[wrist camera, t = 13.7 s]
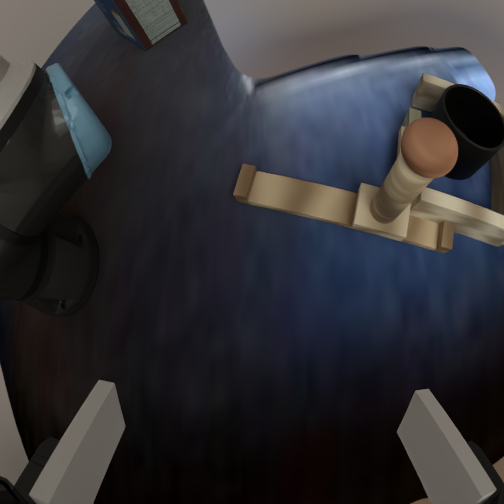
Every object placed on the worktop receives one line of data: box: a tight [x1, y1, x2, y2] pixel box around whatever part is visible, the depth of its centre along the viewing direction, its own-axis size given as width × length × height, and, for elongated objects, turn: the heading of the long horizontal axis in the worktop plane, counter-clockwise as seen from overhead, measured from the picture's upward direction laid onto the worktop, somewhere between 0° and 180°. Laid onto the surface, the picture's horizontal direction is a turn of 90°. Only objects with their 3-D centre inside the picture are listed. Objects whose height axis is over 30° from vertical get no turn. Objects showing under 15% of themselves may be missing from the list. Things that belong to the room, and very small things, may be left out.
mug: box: [429, 84, 504, 180], centre depth 30 cm, size 9×12×9 cm
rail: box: [233, 164, 455, 253], centre depth 34 cm, size 26×4×2 cm, turn 74°
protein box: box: [94, 0, 188, 51], centre depth 40 cm, size 10×15×16 cm
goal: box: [409, 73, 504, 247], centre depth 30 cm, size 15×19×6 cm
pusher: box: [351, 107, 458, 241], centre depth 25 cm, size 6×16×19 cm, turn 164°
